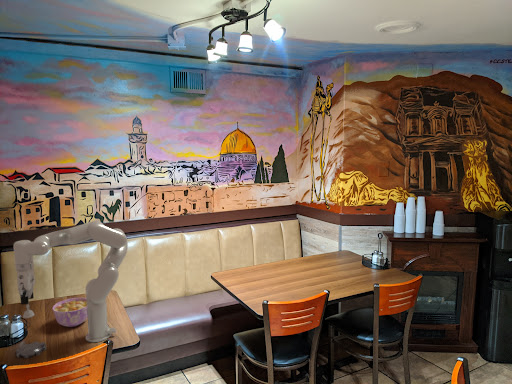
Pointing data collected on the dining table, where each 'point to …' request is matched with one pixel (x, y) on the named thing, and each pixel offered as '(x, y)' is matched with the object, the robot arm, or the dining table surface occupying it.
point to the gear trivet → (31, 349)
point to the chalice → (28, 312)
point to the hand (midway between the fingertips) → (27, 301)
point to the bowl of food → (71, 311)
